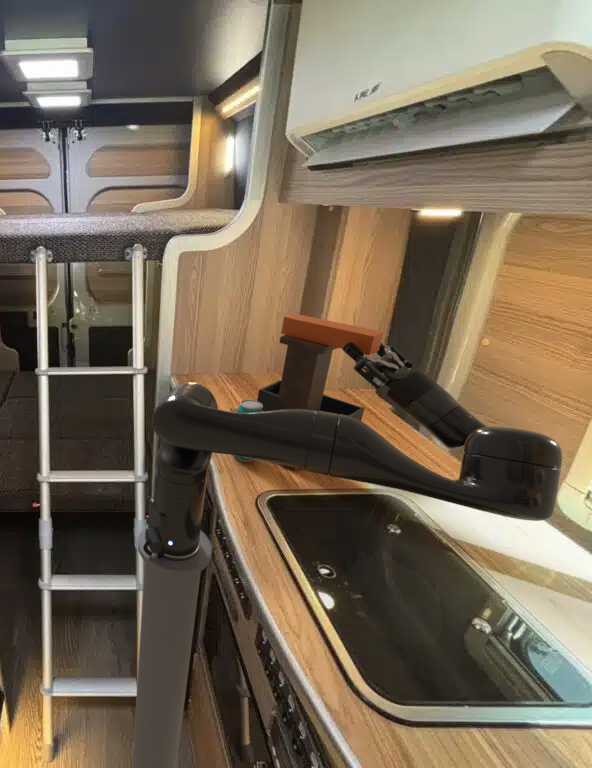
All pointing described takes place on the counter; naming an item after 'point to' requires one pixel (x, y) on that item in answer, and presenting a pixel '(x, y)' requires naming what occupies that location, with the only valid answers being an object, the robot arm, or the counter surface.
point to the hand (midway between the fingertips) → (355, 340)
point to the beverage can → (248, 407)
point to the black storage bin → (328, 404)
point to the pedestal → (303, 374)
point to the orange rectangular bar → (331, 333)
